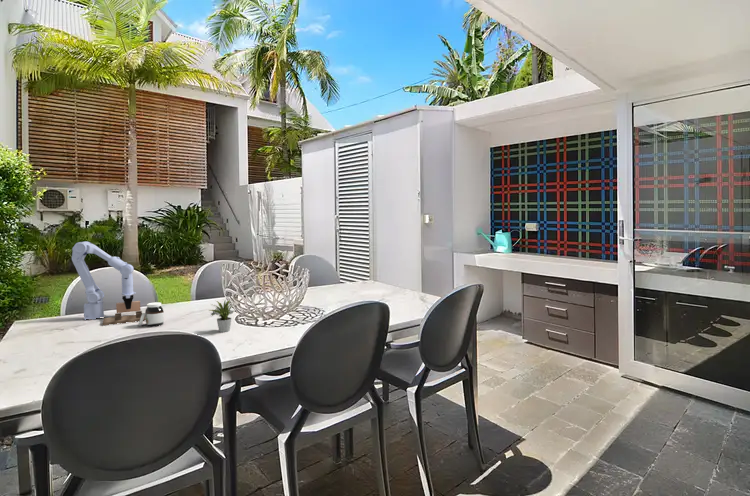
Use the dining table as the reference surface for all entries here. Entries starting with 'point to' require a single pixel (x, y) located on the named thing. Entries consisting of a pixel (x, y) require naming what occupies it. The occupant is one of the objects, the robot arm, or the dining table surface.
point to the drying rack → (123, 318)
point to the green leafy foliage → (223, 305)
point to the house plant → (223, 316)
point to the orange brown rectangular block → (122, 308)
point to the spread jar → (153, 315)
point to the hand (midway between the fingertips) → (128, 308)
